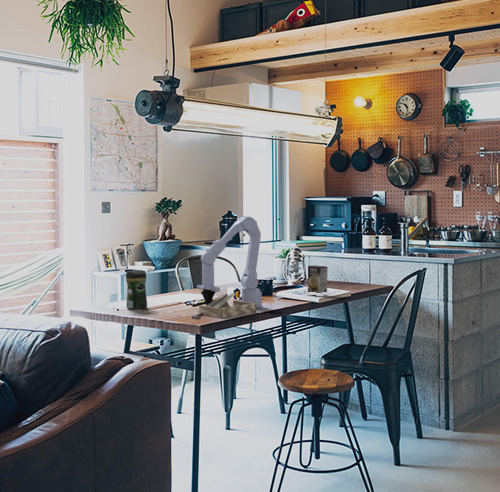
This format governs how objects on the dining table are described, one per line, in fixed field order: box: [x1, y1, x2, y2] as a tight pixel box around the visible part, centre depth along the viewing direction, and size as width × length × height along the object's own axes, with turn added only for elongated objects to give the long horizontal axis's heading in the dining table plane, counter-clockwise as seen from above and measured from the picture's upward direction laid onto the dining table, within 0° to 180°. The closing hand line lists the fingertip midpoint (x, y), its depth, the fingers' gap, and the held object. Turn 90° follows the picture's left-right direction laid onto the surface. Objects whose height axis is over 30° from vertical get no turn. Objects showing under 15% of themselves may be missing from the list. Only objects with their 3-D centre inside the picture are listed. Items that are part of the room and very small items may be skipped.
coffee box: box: [307, 265, 328, 293], centre depth 373 cm, size 9×6×16 cm
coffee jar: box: [125, 269, 148, 310], centre depth 332 cm, size 10×8×19 cm
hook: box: [191, 313, 204, 320], centre depth 308 cm, size 10×3×1 cm, turn 157°
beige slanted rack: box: [197, 292, 238, 313], centre depth 321 cm, size 16×9×15 cm
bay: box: [198, 299, 257, 319], centre depth 318 cm, size 22×15×4 cm
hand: (208, 305), depth 328 cm, fingers closed
